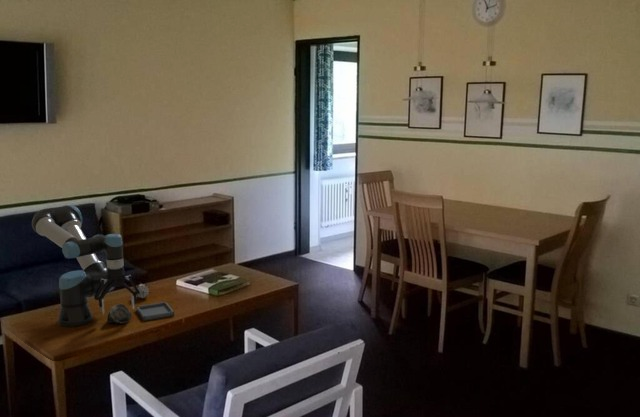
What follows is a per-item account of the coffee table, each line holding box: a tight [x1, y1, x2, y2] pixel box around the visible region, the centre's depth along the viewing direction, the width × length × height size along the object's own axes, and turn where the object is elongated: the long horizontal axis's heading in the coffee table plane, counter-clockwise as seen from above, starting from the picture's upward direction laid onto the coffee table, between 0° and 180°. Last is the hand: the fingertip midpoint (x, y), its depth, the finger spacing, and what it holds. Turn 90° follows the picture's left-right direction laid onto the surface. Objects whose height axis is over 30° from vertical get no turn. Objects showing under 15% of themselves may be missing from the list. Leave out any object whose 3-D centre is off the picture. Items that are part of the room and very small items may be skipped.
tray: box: [136, 301, 175, 322], centre depth 298 cm, size 15×16×2 cm
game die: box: [132, 282, 152, 301], centre depth 319 cm, size 9×8×10 cm
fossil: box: [106, 303, 132, 325], centre depth 287 cm, size 11×9×10 cm
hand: (118, 310), depth 286 cm, fingers open, 13 cm apart
